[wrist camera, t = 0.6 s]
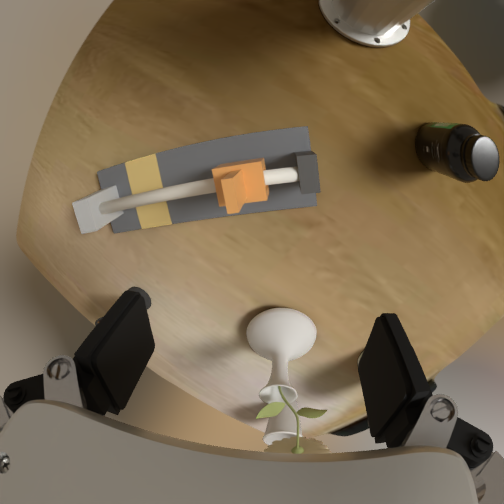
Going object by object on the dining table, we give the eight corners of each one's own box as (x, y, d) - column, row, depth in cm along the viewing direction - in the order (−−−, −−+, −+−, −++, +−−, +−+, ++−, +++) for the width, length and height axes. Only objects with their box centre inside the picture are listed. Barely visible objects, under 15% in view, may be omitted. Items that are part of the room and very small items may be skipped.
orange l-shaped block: (264, 157, 29) (256, 168, 21) (269, 191, 31) (263, 215, 23) (220, 164, 30) (196, 178, 22) (226, 197, 31) (206, 222, 23)
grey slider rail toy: (306, 126, 30) (314, 124, 23) (315, 202, 35) (324, 224, 27) (102, 170, 35) (66, 182, 28) (118, 230, 40) (88, 253, 32)
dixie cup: (282, 415, 56) (279, 450, 47) (258, 401, 54) (254, 438, 45) (310, 404, 53) (311, 441, 44) (288, 389, 51) (286, 429, 42)
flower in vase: (240, 342, 46) (211, 473, 24) (259, 292, 41) (233, 446, 19) (308, 359, 47) (309, 486, 24) (336, 315, 42) (359, 460, 19)
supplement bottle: (415, 116, 27) (466, 117, 17) (453, 129, 27) (507, 137, 16) (411, 165, 30) (459, 184, 20) (448, 174, 30) (500, 196, 19)
